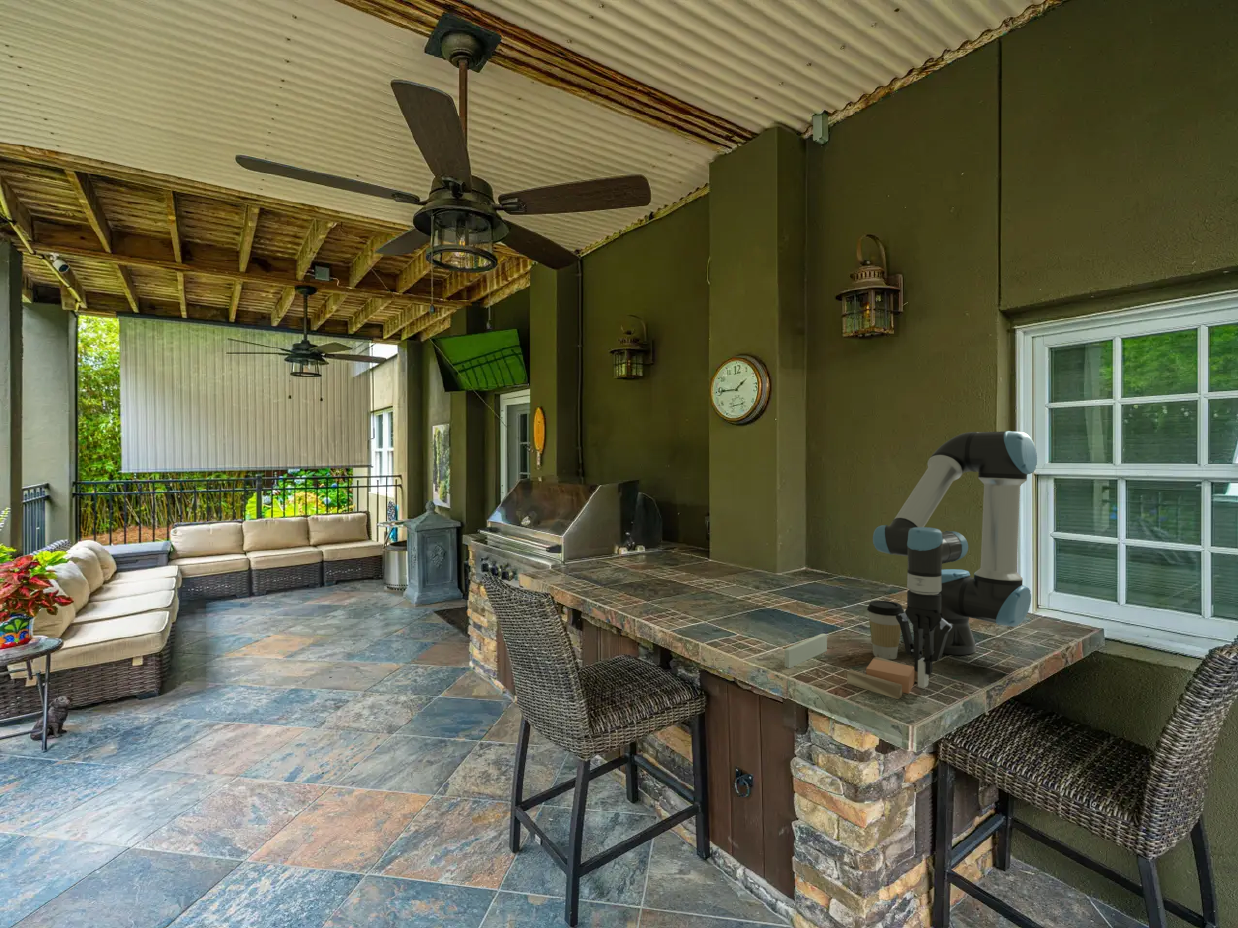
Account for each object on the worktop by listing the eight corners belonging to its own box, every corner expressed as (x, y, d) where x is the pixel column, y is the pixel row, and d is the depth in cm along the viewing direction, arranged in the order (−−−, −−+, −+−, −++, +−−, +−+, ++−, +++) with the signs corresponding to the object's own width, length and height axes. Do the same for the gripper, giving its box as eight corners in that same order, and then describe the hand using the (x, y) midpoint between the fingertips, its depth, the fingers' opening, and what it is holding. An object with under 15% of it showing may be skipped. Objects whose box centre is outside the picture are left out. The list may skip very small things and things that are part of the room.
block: (873, 675, 160) (873, 658, 160) (914, 683, 155) (914, 666, 155) (866, 685, 154) (866, 668, 154) (908, 694, 148) (909, 676, 148)
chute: (875, 667, 165) (876, 656, 165) (925, 681, 155) (925, 669, 155) (847, 683, 155) (847, 671, 154) (898, 699, 145) (898, 687, 145)
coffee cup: (893, 649, 179) (893, 599, 179) (910, 661, 170) (911, 608, 169) (860, 649, 179) (861, 600, 179) (876, 662, 169) (876, 609, 169)
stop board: (822, 649, 179) (822, 633, 179) (826, 651, 178) (826, 634, 178) (784, 666, 166) (784, 649, 166) (789, 668, 165) (789, 650, 165)
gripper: (890, 588, 150) (889, 682, 151) (946, 598, 140) (945, 698, 141) (903, 583, 155) (902, 674, 156) (958, 593, 145) (957, 689, 146)
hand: (923, 685), depth 148 cm, fingers closed
